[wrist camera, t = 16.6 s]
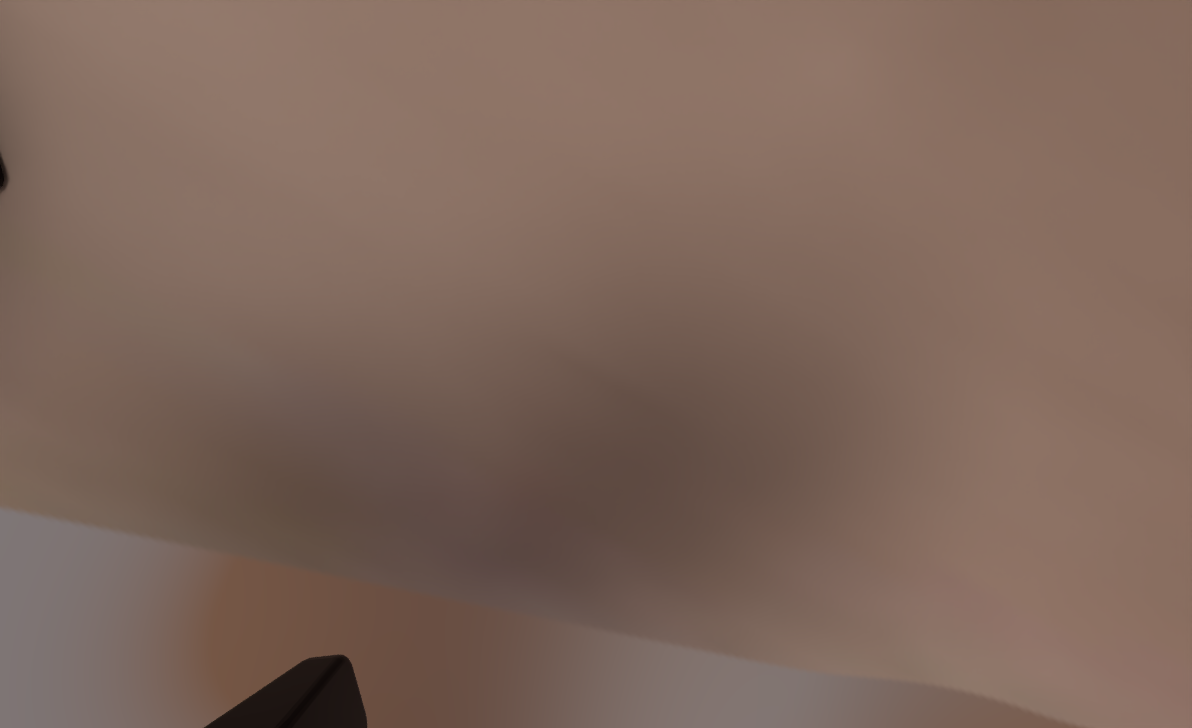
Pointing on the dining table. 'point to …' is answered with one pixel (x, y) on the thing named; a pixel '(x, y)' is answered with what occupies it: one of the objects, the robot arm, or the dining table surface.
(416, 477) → the dining table surface
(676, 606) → the dining table surface
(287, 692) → the robot arm
